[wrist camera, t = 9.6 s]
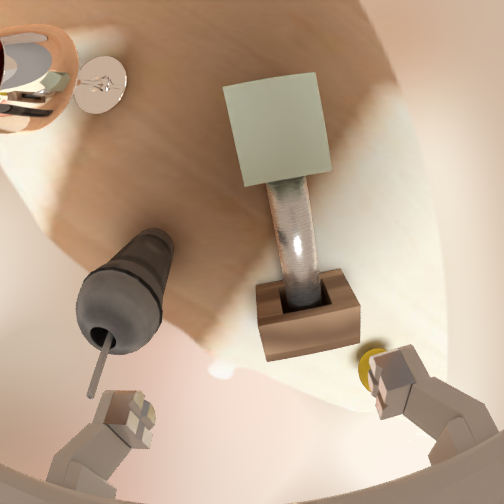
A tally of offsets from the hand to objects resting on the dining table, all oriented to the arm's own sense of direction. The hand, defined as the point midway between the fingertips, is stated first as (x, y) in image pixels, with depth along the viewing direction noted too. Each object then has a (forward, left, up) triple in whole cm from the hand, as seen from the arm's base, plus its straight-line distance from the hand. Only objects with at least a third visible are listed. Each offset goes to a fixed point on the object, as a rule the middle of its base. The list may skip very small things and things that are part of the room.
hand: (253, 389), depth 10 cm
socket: (+13, +4, -24) cm, 27 cm away
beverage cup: (+3, -11, -24) cm, 27 cm away
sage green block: (-7, +4, -24) cm, 25 cm away
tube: (+5, +4, -22) cm, 23 cm away
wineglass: (-16, -12, -24) cm, 31 cm away
